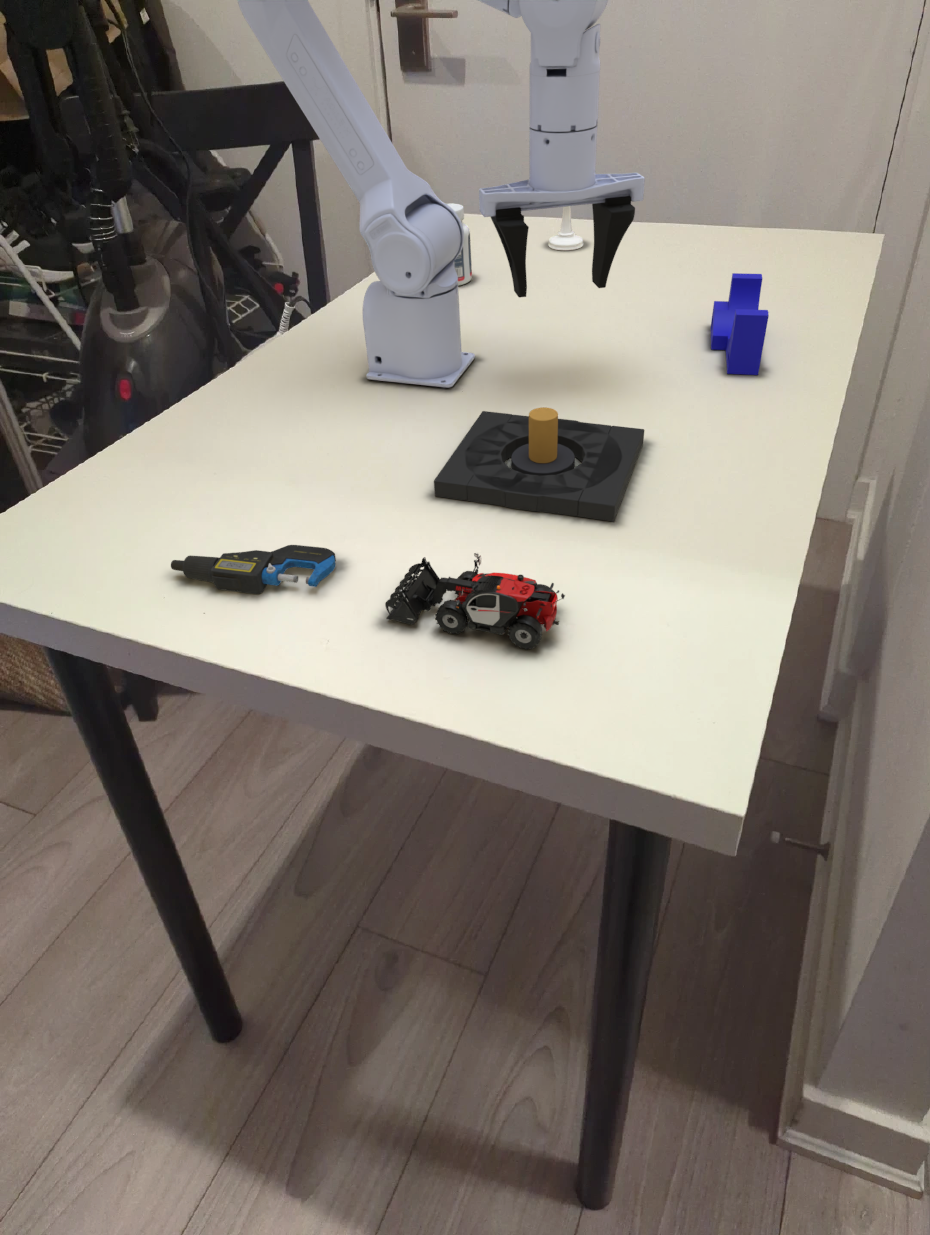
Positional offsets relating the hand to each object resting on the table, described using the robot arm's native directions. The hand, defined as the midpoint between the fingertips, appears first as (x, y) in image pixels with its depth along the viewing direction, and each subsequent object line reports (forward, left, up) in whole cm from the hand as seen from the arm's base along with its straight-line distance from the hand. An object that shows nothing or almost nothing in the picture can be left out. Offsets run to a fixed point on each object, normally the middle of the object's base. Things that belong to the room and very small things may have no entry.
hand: (559, 289), depth 82 cm
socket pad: (+3, -17, -9) cm, 20 cm away
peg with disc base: (+3, -17, -9) cm, 20 cm away
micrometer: (-14, -37, -10) cm, 41 cm away
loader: (+4, -38, -10) cm, 39 cm away
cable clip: (+16, +12, -10) cm, 22 cm away
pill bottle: (-21, +27, -10) cm, 36 cm away
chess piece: (-10, +44, -10) cm, 46 cm away
